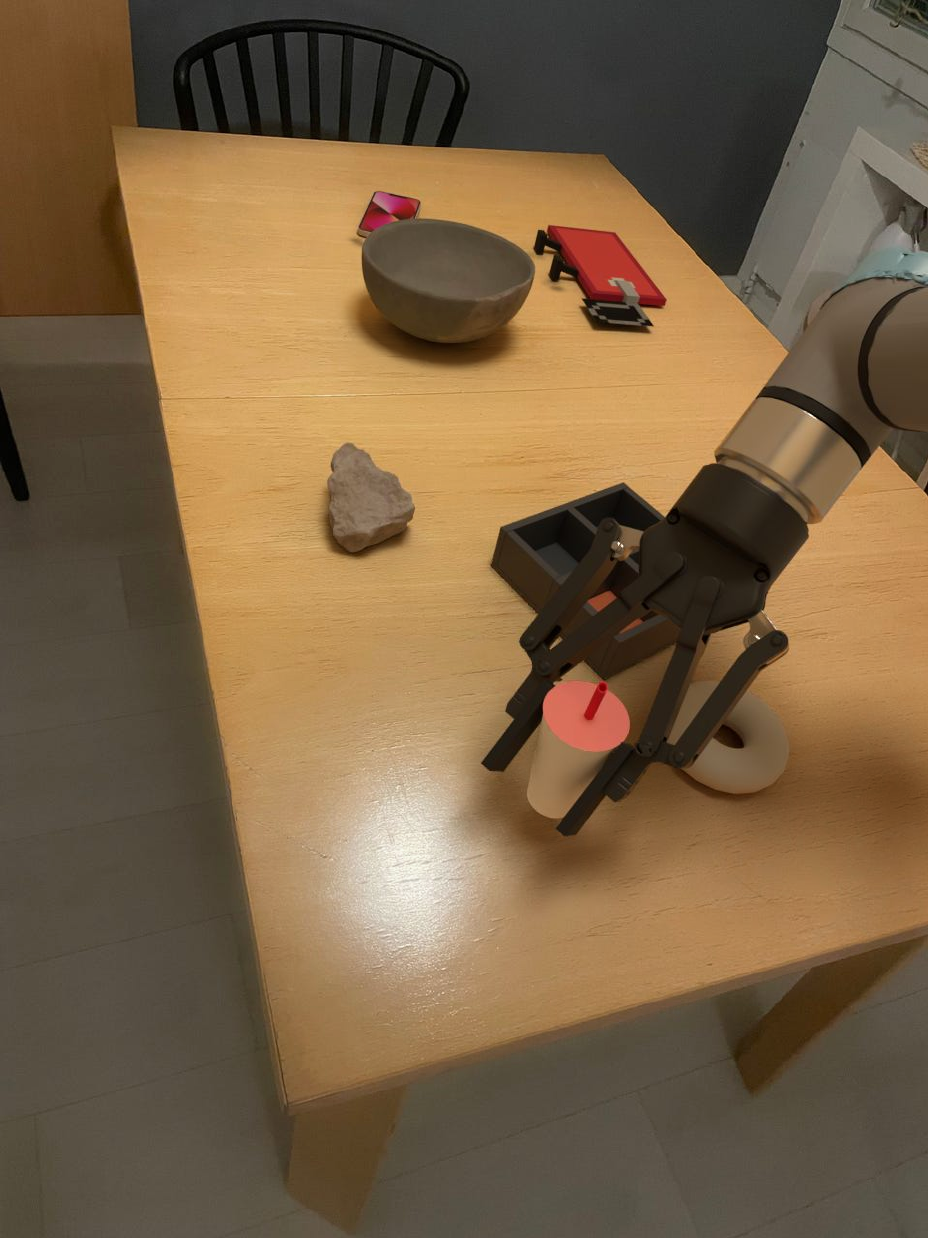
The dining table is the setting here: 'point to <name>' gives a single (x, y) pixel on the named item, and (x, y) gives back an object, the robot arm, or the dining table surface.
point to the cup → (574, 743)
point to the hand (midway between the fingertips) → (528, 798)
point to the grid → (554, 547)
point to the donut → (742, 765)
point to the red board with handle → (602, 273)
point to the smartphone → (387, 211)
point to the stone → (365, 500)
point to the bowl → (445, 278)
